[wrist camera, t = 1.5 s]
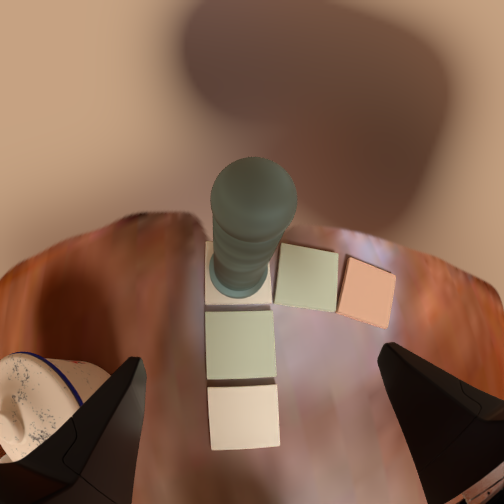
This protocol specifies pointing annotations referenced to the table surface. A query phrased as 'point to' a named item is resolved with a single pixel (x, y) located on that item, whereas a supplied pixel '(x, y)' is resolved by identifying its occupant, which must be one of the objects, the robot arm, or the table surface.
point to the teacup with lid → (41, 398)
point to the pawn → (248, 223)
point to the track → (262, 336)
